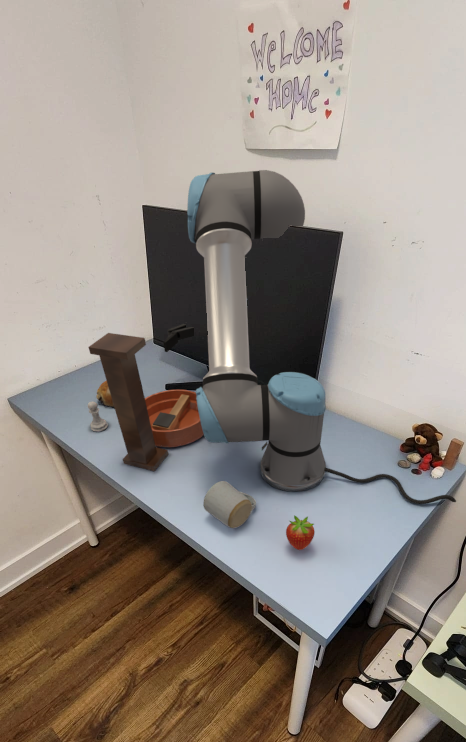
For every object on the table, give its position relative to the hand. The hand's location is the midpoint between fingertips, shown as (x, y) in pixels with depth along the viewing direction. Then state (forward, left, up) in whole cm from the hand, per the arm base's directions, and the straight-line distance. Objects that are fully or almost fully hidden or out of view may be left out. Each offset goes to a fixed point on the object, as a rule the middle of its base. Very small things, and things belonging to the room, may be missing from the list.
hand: (187, 350), depth 113 cm
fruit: (-44, +42, -16) cm, 63 cm away
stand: (0, +28, -16) cm, 32 cm away
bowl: (0, +13, -16) cm, 20 cm away
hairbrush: (0, +11, -14) cm, 18 cm away
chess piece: (+20, +20, -16) cm, 32 cm away
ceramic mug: (-28, +38, -16) cm, 50 cm away
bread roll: (+24, +6, -16) cm, 30 cm away
